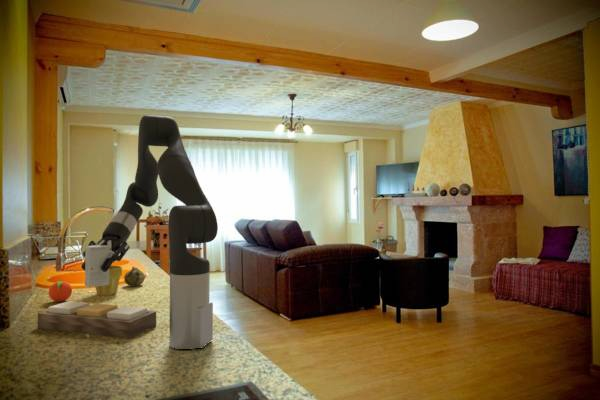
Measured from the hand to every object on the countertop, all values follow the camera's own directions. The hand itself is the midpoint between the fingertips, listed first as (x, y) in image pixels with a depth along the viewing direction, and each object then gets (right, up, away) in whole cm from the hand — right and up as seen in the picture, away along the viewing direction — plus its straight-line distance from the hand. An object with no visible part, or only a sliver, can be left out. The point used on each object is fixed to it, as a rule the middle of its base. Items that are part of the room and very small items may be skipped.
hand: (93, 269), depth 127 cm
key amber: (+8, -10, -13) cm, 18 cm away
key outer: (-2, -10, -10) cm, 14 cm away
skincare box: (0, -5, +2) cm, 5 cm away
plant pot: (-9, -14, +28) cm, 32 cm away
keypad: (+8, -13, -13) cm, 20 cm away
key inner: (+17, -10, -16) cm, 25 cm away
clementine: (-19, -14, +15) cm, 28 cm away
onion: (-5, -14, +43) cm, 46 cm away
